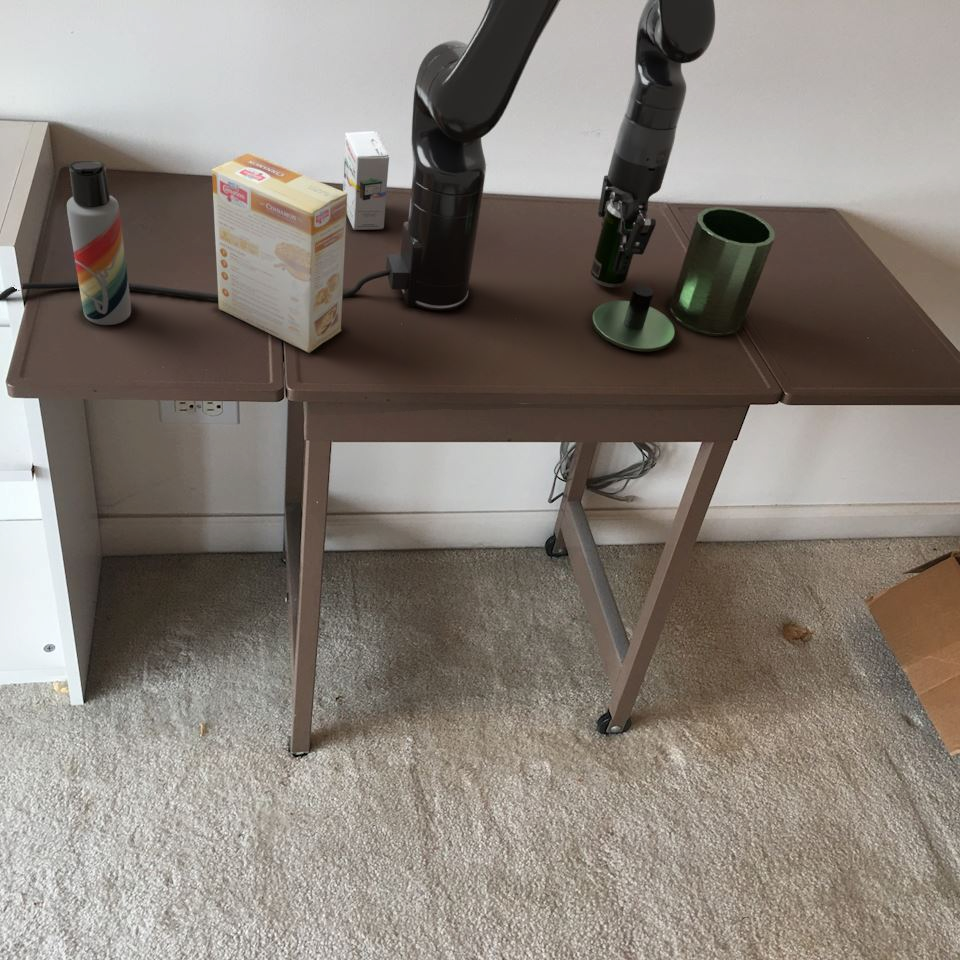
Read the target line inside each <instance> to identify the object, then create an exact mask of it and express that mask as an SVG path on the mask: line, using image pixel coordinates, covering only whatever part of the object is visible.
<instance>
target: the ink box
mask: <svg viewBox="0 0 960 960" xmlns="http://www.w3.org/2000/svg"><path fill="white" fill-rule="evenodd" d="M343 161H344V162H343V176H342V177H343V181H342V182H343V183H342V191H343V192H345V193H347V210H346V216H347V218H348V220H349V223H350V225H351V227H352V229H353V230H354V231H365V230H383V229H384V227H385V214H386V200H387V190H388V189H387V188H388V177H389V176H388V175H389V164H390V156H389V153H388V151H387V148H386V147H385V145H384V142H383V141H382V138H381V136H380V135H379V133H378V132H377V131H372V130H371V131H355V132H354V131H353V132H345V142H344V159H343Z"/></svg>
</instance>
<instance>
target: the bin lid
mask: <svg viewBox="0 0 960 960" xmlns="http://www.w3.org/2000/svg"><path fill="white" fill-rule="evenodd" d="M653 297H654V290H653V288H651V287H649V286H647V285H645V284H644V285H643V284H638V285H634V287H633V288H632V292H631V296H630V299H629V300H613V301H608V302H605V303H602V304H601V305H599V306H597V308H596V309H595V310H594V312H593V314H592V318H591V323H592V326H593V329H594V330H595V331H596V333H597V334H598V335H599V336H600V337H601V338H603V339H604V340H605V341H607V342H608V343H610V344H612V345H614V346H616V347H620V348H623V349H624V350H625V349H626V350H630V351H633V352H643V353H645V352H648V353H649V352H657V351H660V350H663V349H665V348H667V347H668V346H670V344H672V342H673V341H674V338H675V327H674V325H673V323H672V321H671V320H670V319H669V318H668V317H667V316H666V315H665V314H663V312H660V311H659V310H657V309H655V308H654V307H651V303H652V300H653Z"/></svg>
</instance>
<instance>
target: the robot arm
mask: <svg viewBox="0 0 960 960" xmlns="http://www.w3.org/2000/svg"><path fill="white" fill-rule="evenodd" d="M561 1H562V0H488V3H487V7H486V9H485V11H484V14H483V16H482V18H481V21H480V22H479V24H478V27H477V28H476V30H475V32H474V34H473V35H472V36H471V39H470V40H469V42H468V43H467V42H465V41H463V40H446V41H442V42H441V43H438V44H436V45H434V47H432V48H430V50H429V51H428V52H427V53H426V54H425V55H424V57H423V58H422V60H421V62H420V64H419V66H418V69H417V71H416V76H415V81H414V90H413V99H412V100H413V101H412V116H411V133H410V146H411V153H412V160H413V166H412V179H411V189H410V199H409V209H408V219H407V220H408V221H404V222H403V225H402V235H401V246H400V253H387V254H386V264H385V265H386V267H385V269H383V270H381V271H380V270H379V271H376V272H373V273H370V274H368V275H366V276H363V277H362V278H361V279H360V280H358V282H357V283H356V284H355V286H354V287H352V288H350V289H348V290H346V291H343V295H342V299H343V298H347V297H350V296H353V295H355V294H357V293H358V292H359V291H360V290H361V289H362V287H363V286H364V285H365V284H366V283H369V282H370V281H372V280H376V279H379V278H383V277H387V278H388V279H387V280H388V282H389V285H390V289H391V290H400V292H401V295H402V297H403V300H404V303H405V304H406V306H407V307H416V308H419V309H423V310H427V311H431V312H448V311H449V312H450V311H454V310H456V309H459V308H462V306H464V305H465V304H466V303H467V300H468V297H469V288H470V280H471V273H472V267H473V260H474V252H475V246H476V240H477V233H478V226H479V220H480V213H481V208H482V200H483V193H484V186H485V180H486V173H487V162H486V157H485V154H484V149H483V144H482V138H483V137H485V136H486V135H488V134H490V132H491V131H492V130H493V129H494V128H495V127H496V126H497V125H498V124H499V122H500V121H501V119H502V117H503V116H504V114H505V112H506V110H507V108H508V106H509V104H510V101H511V99H512V97H513V95H514V93H515V91H516V89H517V86H518V84H519V82H520V80H521V77H522V76H523V74H524V71H525V69H526V66H527V64H528V62H529V60H530V57H531V55H532V54H533V52H534V49H535V47H536V45H537V44H538V42H539V40H540V38H541V36H542V34H543V32H544V30H545V29H546V28H547V25H548V24H549V22H550V21H551V18H552V17H553V15H554V13H555V12H556V10H557V8H558V7H559V5H560V3H561ZM715 26H716V7H715V0H647V1H646V2H645V4H644V6H643V8H642V10H641V13H640V16H639V20H638V24H637V30H636V39H635V52H634V76H633V83H632V86H631V89H630V92H629V97H628V99H627V104H626V108H625V112H624V116H623V118H622V121H621V123H620V126H619V128H618V132H617V135H616V136H617V137H616V141H615V143H614V148H613V151H612V155H611V159H610V162H609V163H610V164H609V168H608V172H607V175H604V176H603V180H602V187H601V193H600V199H599V205H598V211H597V215H598V217H599V218H602V219H601V226H602V225H603V221H604V218H605V214H606V210H607V206H608V204H609V203H610V201H611V199H612V203H614V201H618V205H617V208H618V209H619V211H618V212H619V213H620V222H619V225H618V229H617V233H618V234H620V240H619V249H618V251H617V254H616V258H615V262H614V265H613V269H612V270H613V272H614V273H615V274H626V273H627V272H628V273H629V271H628V270H630V267H631V264H630V263H632V260H633V257H634V255H644V253H645V252H646V251H645V250H646V249H647V246H648V244H649V241H650V239H651V237H652V235H653V232H654V230H655V227H656V225H657V221H656V218H653V217H652V218H651V217H649V215H648V210H649V199H650V197H652V196H653V195H654V194H657V193H658V192H659V191H660V190H661V189H662V186H663V181H664V179H665V174H666V171H667V168H668V164H669V161H670V159H671V158H670V157H671V154H672V151H673V147H674V144H675V140H676V139H675V138H676V132H677V127H678V123H679V120H680V117H681V113H682V110H683V107H684V103H685V100H686V95H687V82H686V80H685V77H684V74H683V71H682V64H689V63H692V62H695V61H697V60H699V58H702V56H704V54H705V53H706V51H707V50H708V49H709V47H710V45H711V43H712V41H713V37H714V35H715V29H716V27H715ZM625 214H626V215H625ZM625 219H626V222H627V223H633V226H634V227H633V229H625V227H624V226H625ZM627 235H630V237H629V239H628V242H627V243H626V237H627ZM632 256H633V257H632ZM629 266H630V267H629ZM22 284H23V285H22V286H23V287H22V289H23V290H32V289H33V290H40V289H43V290H46V289H47V290H49V289H51V290H52V289H68V288H69V289H71V288H79V282H78V280H76V281H75V280H74V281H72V280H71V281H58V282H56V281H55V282H24V283H22ZM128 285H129V290H134V291H141V292H143V291H144V292H150V293H157V294H164V295H165V294H166V295H173V296H181V297H190V298H197V299H204V300H212V301H219V300H218V293H217V294H216V293H209V292H202V291H195V290H186V289H178V288H169V287H162V286H155V285H149V284H139V283H130V282H128ZM23 290H22V291H23ZM19 291H20V290H18V291H17V289H15V288H14V287H12V286H10V287H7V288H6V289H5V290H3V291H2V292H1V293H0V301H4V300H6V298H8V297H10V296H11V295H12V294H14V293H16V292H19Z"/></svg>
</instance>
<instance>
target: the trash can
mask: <svg viewBox="0 0 960 960" xmlns="http://www.w3.org/2000/svg"><path fill="white" fill-rule="evenodd" d="M775 233H776V231H775V230H774V229H773V227H772V226H771V224H769V223H768V222H766V221H765V220H764V219H763V218H761V217H759V216H757V215H756V214H753V213H751V212H749V211H746V210H743V209H738V208H734V207H727V206H712V207H708V208H705V209H703V210H701V211H700V212H699V213H698V215H697V217H696V221H695V224H694V227H693V231H692V234H691V237H690V240H689V243H688V246H687V248H686V253H685V256H684V259H683V262H682V266H681V268H680V271H679V275H678V277H677V280H676V283H675V287H674V290H673V294H672V297H671V300H670V304H669V313H670V315H671V316H672V318H673V319H674V320H675V321H676V322H677V323H678V324H680V325H681V326H682V327H684V328H685V329H688V330H689V331H691V332H694V333H697V334H700V335H704V336H710V337H726V336H730V335H731V336H732V335H733V334H736V332H738V331H739V330H740V328H741V327H742V325H743V323H744V320H745V317H746V315H747V312H748V309H749V307H750V304H751V302H752V299H753V297H754V293H755V292H756V289H757V286H758V283H759V281H760V278H761V275H762V273H763V270H764V268H765V265H766V262H767V260H768V257H769V254H770V252H771V249H772V247H773V244H774V241H775Z"/></svg>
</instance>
